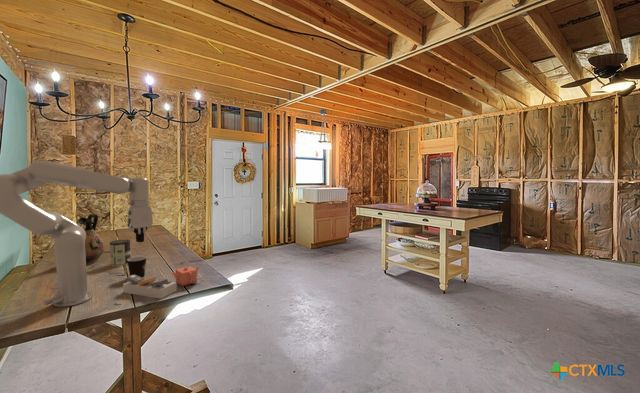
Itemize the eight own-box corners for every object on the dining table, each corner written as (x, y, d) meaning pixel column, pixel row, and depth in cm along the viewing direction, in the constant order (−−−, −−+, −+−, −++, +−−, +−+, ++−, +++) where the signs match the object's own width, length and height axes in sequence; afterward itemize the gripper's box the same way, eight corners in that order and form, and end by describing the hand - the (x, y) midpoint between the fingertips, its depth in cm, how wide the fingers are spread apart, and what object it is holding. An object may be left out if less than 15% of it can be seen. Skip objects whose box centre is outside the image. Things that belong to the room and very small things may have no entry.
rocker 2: (148, 282, 127) (147, 279, 127) (138, 285, 129) (137, 282, 129) (155, 279, 131) (154, 276, 131) (146, 282, 132) (145, 279, 132)
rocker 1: (136, 284, 129) (136, 281, 129) (126, 280, 131) (126, 276, 130) (143, 281, 133) (144, 278, 133) (134, 277, 134) (134, 273, 134)
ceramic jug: (91, 265, 169) (89, 216, 166) (66, 265, 169) (63, 216, 167) (112, 257, 186) (110, 212, 183) (89, 257, 186) (87, 212, 184)
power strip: (161, 298, 124) (160, 288, 124) (115, 291, 132) (114, 281, 131) (176, 290, 133) (176, 281, 132) (132, 284, 140) (132, 275, 140)
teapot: (166, 284, 141) (165, 267, 140) (196, 276, 152) (196, 261, 151) (175, 290, 133) (174, 273, 132) (206, 282, 144) (205, 266, 143)
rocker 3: (160, 285, 125) (160, 281, 125) (150, 286, 127) (149, 282, 127) (168, 281, 129) (167, 278, 129) (157, 283, 130) (157, 279, 130)
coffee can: (126, 260, 180) (125, 238, 179) (134, 263, 174) (133, 240, 173) (107, 264, 171) (106, 241, 170) (115, 267, 166) (114, 244, 165)
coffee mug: (137, 280, 145) (136, 261, 145) (123, 279, 147) (122, 260, 146) (155, 273, 157) (154, 255, 156) (141, 271, 158) (141, 254, 158)
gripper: (130, 205, 125) (130, 245, 126) (159, 203, 139) (159, 239, 140) (118, 204, 128) (118, 244, 129) (148, 202, 142) (148, 238, 143)
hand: (140, 241), depth 134 cm, fingers closed
